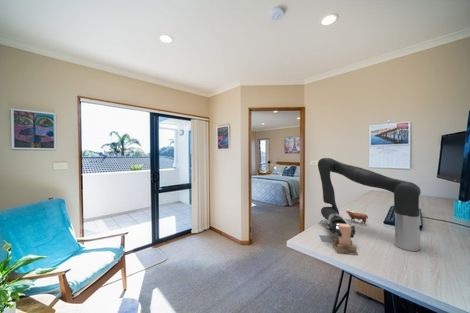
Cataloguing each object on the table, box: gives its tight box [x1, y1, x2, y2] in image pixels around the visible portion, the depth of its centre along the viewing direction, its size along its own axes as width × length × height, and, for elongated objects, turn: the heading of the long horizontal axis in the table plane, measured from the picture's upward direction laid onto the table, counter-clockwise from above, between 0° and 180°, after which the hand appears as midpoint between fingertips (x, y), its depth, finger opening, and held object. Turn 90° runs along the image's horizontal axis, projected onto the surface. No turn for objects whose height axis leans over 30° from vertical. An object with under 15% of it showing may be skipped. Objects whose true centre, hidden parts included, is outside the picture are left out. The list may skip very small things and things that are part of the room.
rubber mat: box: [319, 234, 336, 244], centre depth 106 cm, size 8×8×1 cm
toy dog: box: [345, 208, 369, 226], centre depth 128 cm, size 4×13×8 cm, turn 38°
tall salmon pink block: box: [338, 223, 352, 245], centre depth 94 cm, size 4×4×10 cm
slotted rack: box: [332, 238, 359, 256], centre depth 95 cm, size 9×8×4 cm
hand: (346, 235), depth 92 cm, fingers closed on tall salmon pink block, 4 cm apart
